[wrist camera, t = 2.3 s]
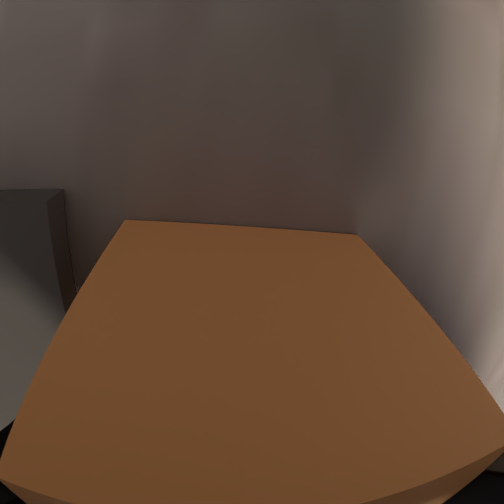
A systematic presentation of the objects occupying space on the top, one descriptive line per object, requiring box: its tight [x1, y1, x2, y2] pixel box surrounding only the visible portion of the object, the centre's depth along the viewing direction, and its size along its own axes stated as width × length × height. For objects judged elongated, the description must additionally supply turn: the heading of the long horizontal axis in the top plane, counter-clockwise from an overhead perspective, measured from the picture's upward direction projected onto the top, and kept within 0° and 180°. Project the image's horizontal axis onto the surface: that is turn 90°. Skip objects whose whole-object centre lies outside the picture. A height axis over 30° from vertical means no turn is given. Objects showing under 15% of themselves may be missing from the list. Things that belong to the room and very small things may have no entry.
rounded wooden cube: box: [0, 220, 504, 504], centre depth 7 cm, size 6×6×7 cm
